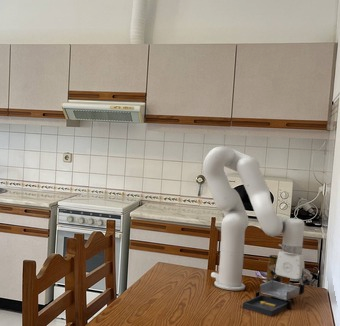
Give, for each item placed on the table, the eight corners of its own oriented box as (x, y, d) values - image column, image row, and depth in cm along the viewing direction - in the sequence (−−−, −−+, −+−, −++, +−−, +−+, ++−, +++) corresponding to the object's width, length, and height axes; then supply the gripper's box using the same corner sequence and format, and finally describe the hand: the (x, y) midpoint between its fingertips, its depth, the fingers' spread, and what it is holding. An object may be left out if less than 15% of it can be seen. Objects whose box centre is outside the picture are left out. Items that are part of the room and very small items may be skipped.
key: (261, 300, 190) (261, 302, 190) (259, 302, 188) (259, 303, 188) (276, 304, 186) (276, 305, 186) (274, 305, 185) (274, 307, 185)
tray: (242, 307, 183) (243, 302, 183) (260, 299, 194) (261, 294, 194) (271, 316, 176) (271, 311, 176) (288, 307, 186) (288, 302, 186)
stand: (254, 300, 193) (255, 291, 193) (266, 294, 201) (267, 287, 201) (289, 309, 184) (289, 301, 184) (300, 304, 191) (300, 295, 191)
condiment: (274, 280, 224) (276, 254, 223) (288, 285, 216) (290, 258, 215) (261, 281, 221) (263, 254, 220) (274, 286, 213) (276, 259, 213)
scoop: (259, 293, 193) (260, 284, 193) (277, 286, 205) (278, 277, 205) (287, 301, 185) (288, 291, 185) (304, 293, 197) (305, 284, 197)
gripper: (267, 246, 202) (263, 287, 203) (310, 255, 190) (306, 298, 191) (274, 243, 207) (271, 284, 208) (317, 252, 195) (313, 295, 196)
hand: (288, 290), depth 200 cm, fingers open, 9 cm apart
